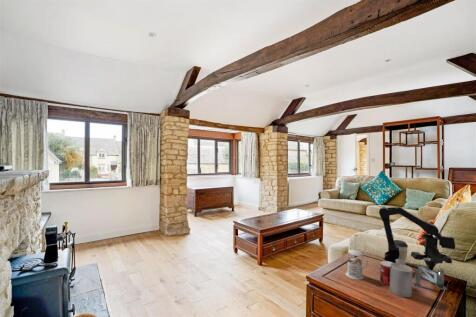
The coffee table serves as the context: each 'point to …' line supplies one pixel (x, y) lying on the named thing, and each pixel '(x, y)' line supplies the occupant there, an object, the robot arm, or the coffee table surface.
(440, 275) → the hinge post
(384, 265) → the canned food
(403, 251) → the coffee cup
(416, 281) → the latch stile
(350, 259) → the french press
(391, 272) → the pillar candle
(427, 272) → the gate
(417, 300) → the coffee table surface
